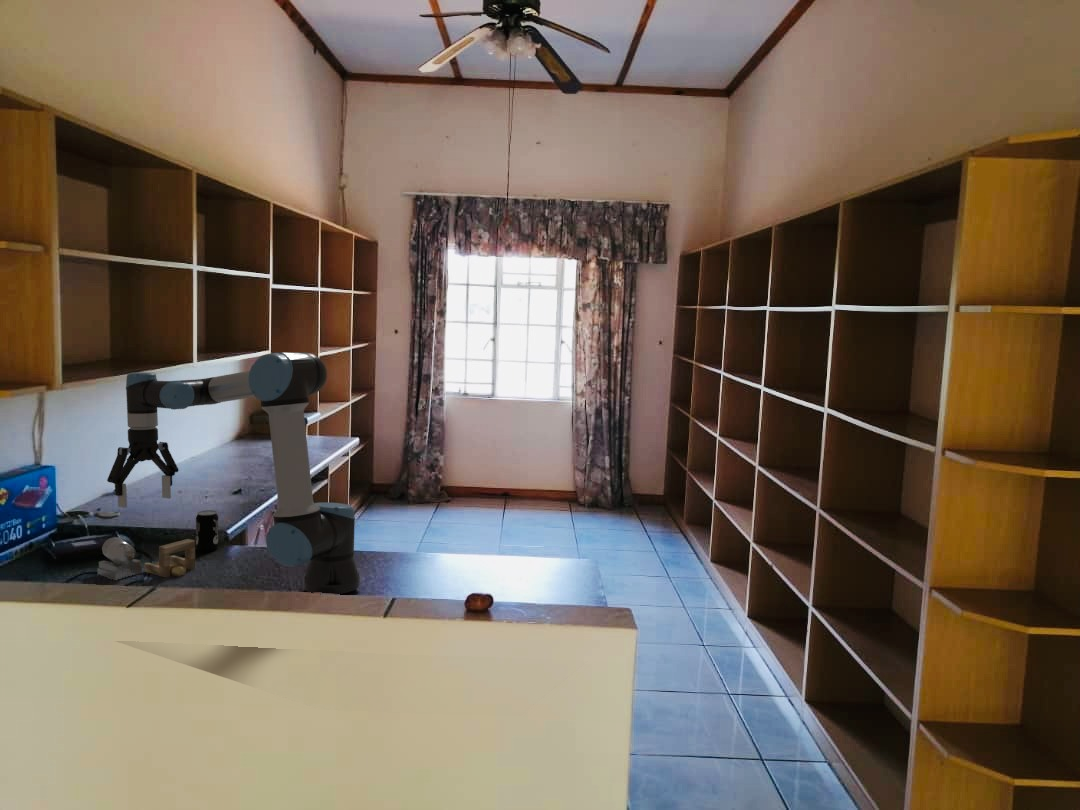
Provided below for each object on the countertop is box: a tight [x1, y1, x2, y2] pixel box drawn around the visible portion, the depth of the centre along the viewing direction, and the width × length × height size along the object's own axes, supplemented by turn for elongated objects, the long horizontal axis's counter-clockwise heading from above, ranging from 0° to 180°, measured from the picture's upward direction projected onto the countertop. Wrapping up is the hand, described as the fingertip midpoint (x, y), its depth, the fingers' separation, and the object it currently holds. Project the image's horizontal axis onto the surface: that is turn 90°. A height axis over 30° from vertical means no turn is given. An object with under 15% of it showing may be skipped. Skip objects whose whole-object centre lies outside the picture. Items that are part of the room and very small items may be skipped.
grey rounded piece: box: [101, 536, 136, 565], centre depth 219 cm, size 9×6×6 cm, turn 46°
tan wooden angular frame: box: [143, 538, 196, 579], centre depth 224 cm, size 10×10×9 cm
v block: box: [97, 558, 143, 581], centre depth 219 cm, size 8×8×4 cm
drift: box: [154, 561, 187, 578], centre depth 222 cm, size 10×3×3 cm
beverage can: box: [195, 509, 219, 552], centre depth 246 cm, size 7×7×12 cm
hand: (145, 502), depth 216 cm, fingers open, 13 cm apart
